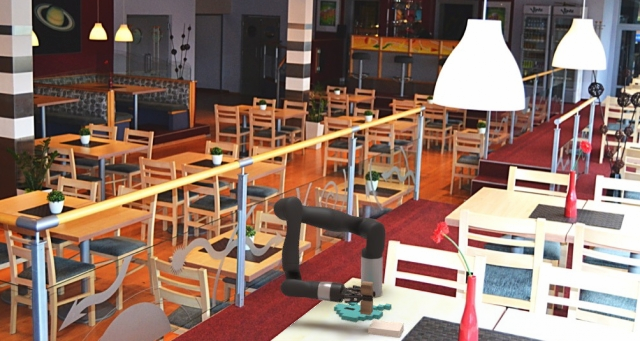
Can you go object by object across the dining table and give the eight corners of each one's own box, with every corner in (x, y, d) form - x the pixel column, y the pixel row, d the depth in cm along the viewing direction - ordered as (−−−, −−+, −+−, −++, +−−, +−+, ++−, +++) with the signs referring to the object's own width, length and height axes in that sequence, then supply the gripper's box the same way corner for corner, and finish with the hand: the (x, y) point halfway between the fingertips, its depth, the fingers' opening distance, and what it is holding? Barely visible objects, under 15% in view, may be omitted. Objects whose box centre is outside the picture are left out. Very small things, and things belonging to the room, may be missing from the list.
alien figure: (348, 301, 351) (326, 317, 333) (348, 296, 350) (326, 312, 333) (391, 309, 342) (371, 326, 324) (391, 304, 341) (371, 321, 324)
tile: (373, 319, 323) (403, 323, 320) (373, 326, 324) (403, 330, 320) (368, 327, 316) (399, 331, 312) (368, 334, 316) (399, 338, 313)
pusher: (362, 310, 321) (363, 281, 319) (372, 311, 320) (373, 282, 318) (360, 314, 318) (360, 284, 315) (370, 315, 316) (370, 285, 314)
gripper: (326, 288, 314) (370, 293, 309) (336, 276, 327) (378, 281, 322) (326, 307, 316) (369, 312, 311) (336, 294, 329) (378, 299, 324)
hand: (373, 296), depth 317 cm, fingers closed on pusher, 4 cm apart
